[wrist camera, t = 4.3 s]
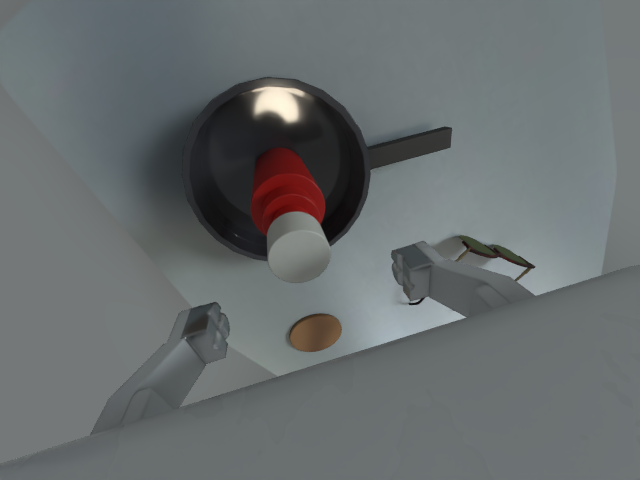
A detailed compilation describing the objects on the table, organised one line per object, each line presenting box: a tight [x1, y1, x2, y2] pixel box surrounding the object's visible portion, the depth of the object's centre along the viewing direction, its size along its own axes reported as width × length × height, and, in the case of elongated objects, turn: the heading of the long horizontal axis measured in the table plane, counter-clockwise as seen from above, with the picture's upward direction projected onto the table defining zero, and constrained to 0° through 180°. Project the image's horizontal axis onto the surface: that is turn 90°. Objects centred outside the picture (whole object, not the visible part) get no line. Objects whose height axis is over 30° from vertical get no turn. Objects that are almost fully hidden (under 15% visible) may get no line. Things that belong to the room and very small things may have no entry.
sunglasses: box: [409, 235, 535, 305], centre depth 40 cm, size 14×15×5 cm
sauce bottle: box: [251, 148, 331, 283], centre depth 20 cm, size 6×6×16 cm
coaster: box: [290, 314, 342, 352], centre depth 42 cm, size 9×9×1 cm
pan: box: [182, 77, 371, 261], centre depth 25 cm, size 17×17×5 cm
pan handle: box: [367, 127, 452, 169], centre depth 25 cm, size 9×2×1 cm, turn 102°
